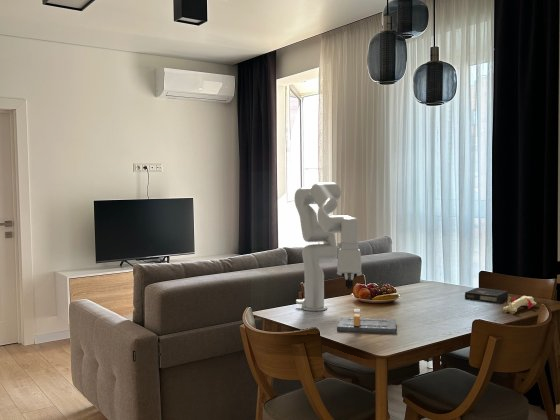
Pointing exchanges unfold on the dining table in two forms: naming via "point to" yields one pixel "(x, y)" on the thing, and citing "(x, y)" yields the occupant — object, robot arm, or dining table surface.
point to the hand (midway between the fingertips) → (349, 288)
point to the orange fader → (356, 319)
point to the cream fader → (356, 311)
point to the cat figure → (518, 304)
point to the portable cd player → (486, 295)
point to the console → (367, 325)
